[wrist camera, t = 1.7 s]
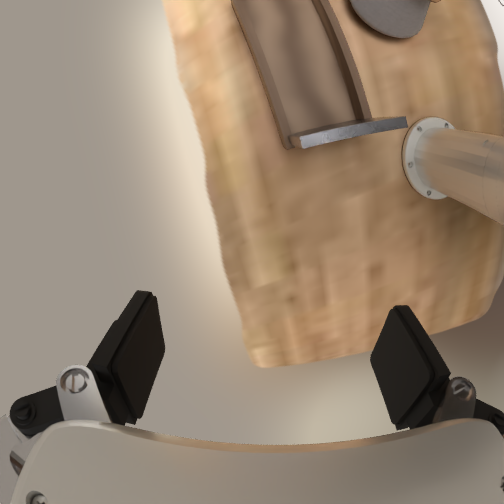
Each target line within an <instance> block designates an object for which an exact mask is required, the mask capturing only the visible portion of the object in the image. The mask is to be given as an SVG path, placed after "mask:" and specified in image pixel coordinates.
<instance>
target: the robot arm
mask: <svg viewBox="0 0 504 504" xmlns="http://www.w3.org/2000/svg"><path fill="white" fill-rule="evenodd" d="M402 160H403V167H404V171H405V174H406V176H407V179H408V181H409V182H410V184H411V185H412V187H413V188H414V189H415V190H416V191H417V192H418V193H420V194H421V195H423V196H425V197H427V198H430V199H443V198H446V197H448V196H449V197H451V198H453V199H455V200H457V201H459V202H461V203H463V204H465V205H467V206H469V207H471V208H473V209H474V210H476V211H478V212H480V213H482V214H484V215H485V216H487V217H489V218H491V219H493V220H494V221H496V222H498V223H500V224H502V225H503V226H504V137H503V136H498V135H492V134H486V133H480V132H473V131H466V130H458V129H455V128H454V126H453V125H451V124H450V123H449V122H448V121H446V120H444V119H441V118H438V117H426V118H423V119H420V120H419V121H417V122H416V123H415V124H414V125H413V126H412V127H411V128H410V130H409V131H408V133H407V135H406V138H405V141H404V145H403V151H402ZM408 163H409V165H408ZM164 353H165V343H164V338H163V333H162V328H161V321H160V315H159V309H158V303H157V298H156V296H153V294H152V292H148V291H139V290H138V291H136V292H135V294H134V295H133V297H132V299H131V300H130V302H129V303H128V305H127V306H126V308H125V309H124V311H123V312H122V314H121V315H120V317H119V319H118V320H116V321H114V322H113V324H112V325H111V327H110V328H109V330H108V332H107V333H106V335H105V336H104V338H103V340H102V341H101V343H100V345H99V346H98V348H97V349H96V351H95V353H94V354H93V356H92V358H91V360H90V361H89V363H88V365H87V366H86V367H85V366H82V365H72V366H69V367H67V368H65V369H64V370H62V371H61V372H60V374H59V375H58V377H57V380H56V386H54V387H51V388H48V389H45V390H42V391H39V392H37V393H34V394H31V395H28V396H25V397H22V398H20V399H18V400H16V401H15V402H14V403H13V405H12V407H11V410H10V416H8V417H7V416H6V415H4V416H2V417H1V418H0V502H1V504H504V413H503V412H502V411H500V410H498V409H497V408H494V407H492V406H490V405H488V404H486V403H484V402H482V401H480V400H478V399H476V389H475V387H474V385H473V384H472V383H471V382H470V381H469V380H467V379H466V378H464V377H454V378H452V379H451V380H450V379H449V376H450V374H451V373H450V371H449V369H448V367H447V366H446V364H445V362H444V361H443V359H442V357H441V355H440V354H439V352H438V350H437V349H436V347H435V346H434V344H433V342H432V341H431V339H430V338H429V336H428V334H427V333H426V331H425V330H424V328H423V327H422V325H421V324H420V322H419V321H418V319H417V318H416V316H415V315H414V313H413V312H412V310H411V309H410V307H409V306H407V305H396V306H394V307H393V309H391V310H390V311H389V314H388V316H387V319H386V321H385V324H384V326H383V329H382V331H381V333H380V336H379V338H378V340H377V343H376V345H375V347H374V349H373V352H372V354H371V357H370V358H371V359H370V361H371V365H372V368H373V370H374V373H375V375H376V378H377V381H378V384H379V387H380V390H381V392H382V395H383V398H384V401H385V404H386V407H387V410H388V413H389V416H390V419H391V422H392V423H393V424H395V426H396V429H397V430H401V429H405V428H408V427H409V428H410V430H406V431H402V432H397V433H392V434H387V435H382V436H376V437H370V438H364V439H357V440H350V441H342V442H333V443H320V444H302V445H252V444H235V443H223V442H213V441H204V440H197V439H189V438H184V437H178V436H171V435H165V434H160V433H155V432H150V431H146V430H141V429H137V428H132V427H127V426H125V423H130V424H134V425H135V424H136V421H137V418H139V419H140V418H141V417H142V415H143V413H144V410H145V407H146V403H147V401H148V398H149V395H150V392H151V389H152V386H153V384H154V380H155V378H156V375H157V372H158V370H159V367H160V364H161V361H162V359H163V356H164Z"/></svg>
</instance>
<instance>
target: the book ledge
mask: <svg viewBox="0 0 504 504" xmlns="http://www.w3.org/2000/svg"><path fill="white" fill-rule="evenodd" d="M231 3H232V7H233V9H234V11H235V14H236V16H237V19H238V21H239V23H240V26H241V28H242V31H243V33H244V36H245V38H246V41H247V43H248V46H249V49H250V51H251V54H252V56H253V59H254V62H255V64H256V67H257V70H258V73H259V75H260V78H261V81H262V84H263V87H264V89H265V92H266V95H267V98H268V101H269V104H270V107H271V110H272V113H273V116H274V119H275V122H276V125H277V128H278V131H279V135H280V138H281V141H282V144H283V147H284V148H285V149H291V148H295V146H294V145H291V144H290V142H289V139H288V136H289V135H292V134H293V133H297V132H301V131H305V130H309V129H313V128H318V127H322V126H326V125H331V124H336V123H341V122H346V121H351V120H356V119H367V118H372V116H371V112H370V109H369V105H368V102H367V98H366V95H365V92H364V88H363V85H362V82H361V79H360V76H359V73H358V70H357V67H356V64H355V62H354V59H353V56H352V54H351V51H350V48H349V46H348V43H347V41H346V38H345V36H344V34H343V31H342V29H341V27H340V24H339V22H338V20H337V18H336V15H335V13H334V11H333V9H332V7H331V5H330V3H329V1H328V0H231Z"/></svg>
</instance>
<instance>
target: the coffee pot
mask: <svg viewBox="0 0 504 504" xmlns="http://www.w3.org/2000/svg"><path fill="white" fill-rule="evenodd" d="M430 1H431V2H434V3H436V2H439V1H440V0H350V2H351V5H352V7H353V9H354V10H355V12H356V13H357V15H358V16H359V17H360V18H361V19H362V20H363V21H364V22H365V23H366V24H368V25H369V26H370V27H371V28H373V29H375V30H377V31H378V32H380V33H382V34H385V35H388V36H391V37H397V38H408V37H412V36H414V35H416V34H418V32H419V31H420V30H421V28H422V26H423V23H424V20H425V17H426V14H427V10H428V7H429V4H430ZM499 2H500V1H499ZM500 3H501V2H500ZM501 5H502V4H501ZM502 6H504V5H502Z"/></svg>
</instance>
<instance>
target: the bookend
mask: <svg viewBox="0 0 504 504" xmlns="http://www.w3.org/2000/svg"><path fill="white" fill-rule="evenodd" d="M407 127H408V125H407V121H406V116H405V117H379V118H367V119H356V120H351V121H346V122H341V123H336V124H331V125H326V126H322V127H318V128H313V129H309V130H305V131H301V132H297V133H293V134H292V135H289V136H288V139H289V142H290V144H291V145H294V146H297V147H299V148H302V149H304V148H308V147H312V146H316V145H320V144H325V143H329V142H333V141H338V140H342V139H347V138H352V137H356V136H361V135H366V134H372V133H377V132H383V131H388V130H394V129H400V128H407Z"/></svg>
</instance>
